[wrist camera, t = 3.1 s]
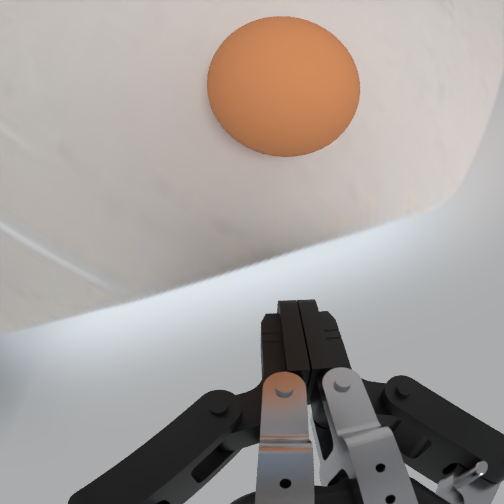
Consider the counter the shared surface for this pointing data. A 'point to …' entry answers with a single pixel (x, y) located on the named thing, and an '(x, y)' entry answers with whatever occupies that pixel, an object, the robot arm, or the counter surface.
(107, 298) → the counter surface
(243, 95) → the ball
